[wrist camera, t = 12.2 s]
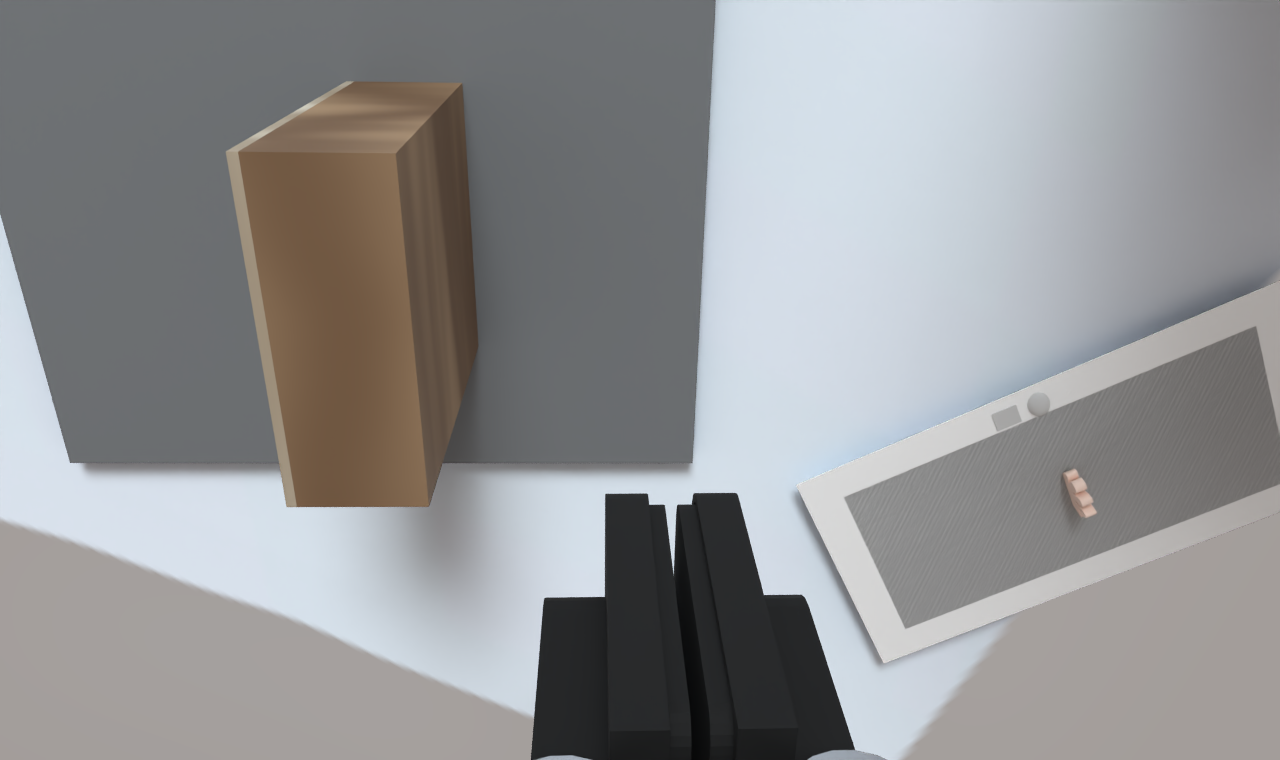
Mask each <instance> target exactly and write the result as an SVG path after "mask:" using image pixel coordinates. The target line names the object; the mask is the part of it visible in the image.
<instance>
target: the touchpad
mask: <svg viewBox="0 0 1280 760" xmlns="http://www.w3.org/2000/svg"><path fill="white" fill-rule="evenodd" d="M796 486H797V488H798V490H799V492H800V494H801V496H802V498H803V500H804V502H805V505H806V507H807V509H808V511H809V513H810V515H811V517H812V519H813V521H814V523H815V525H816V527H817V529H818V531H819V533H820V535H821V537H822V539H823V541H824V543H825V545H826V547H827V549H828V551H829V553H830V555H831V557H832V559H833V561H834V563H835V565H836V568H837V570H838V572H839V574H840V576H841V578H842V580H843V582H844V584H845V586H846V588H847V590H848V592H849V594H850V596H851V598H852V600H853V602H854V604H855V606H856V608H857V610H858V612H859V614H860V616H861V618H862V620H863V622H864V624H865V626H866V628H867V631H868V633H869V635H870V637H871V639H872V641H873V643H874V645H875V647H876V649H877V651H878V653H879V655H880V657H881V659H882V661H883V663H887V662H889V661H892V660H895V659H897V658H900V657H903V656H905V655H908V654H910V653H913V652H916V651H918V650H921V649H923V648H926V647H929V646H931V645H934V644H937V643H939V642H942V641H944V640H947V639H950V638H952V637H955V636H957V635H960V634H963V633H965V632H968V631H971V630H973V629H976V628H978V627H981V626H984V625H986V624H989V623H991V622H994V621H997V620H999V619H1002V618H1005V617H1007V616H1010V615H1012V614H1015V613H1018V612H1020V611H1023V610H1025V609H1028V608H1031V607H1033V606H1036V605H1039V604H1041V603H1044V602H1046V601H1049V600H1051V599H1054V598H1057V597H1060V596H1062V595H1065V594H1067V593H1070V592H1073V591H1075V590H1078V589H1080V588H1083V587H1086V586H1088V585H1091V584H1094V583H1096V582H1099V581H1101V580H1104V579H1107V578H1109V577H1112V576H1114V575H1117V574H1120V573H1122V572H1125V571H1128V570H1130V569H1133V568H1135V567H1138V566H1141V565H1143V564H1146V563H1148V562H1151V561H1153V560H1156V559H1159V558H1161V557H1164V556H1167V555H1169V554H1172V553H1175V552H1177V551H1180V550H1182V549H1184V548H1187V547H1190V546H1193V545H1195V544H1198V543H1201V542H1203V541H1206V540H1209V539H1211V538H1214V537H1216V536H1219V535H1222V534H1224V533H1227V532H1230V531H1232V530H1235V529H1237V528H1240V527H1242V526H1245V525H1248V524H1250V523H1253V522H1255V521H1258V520H1260V519H1263V518H1266V517H1269V516H1271V515H1274V514H1276V513H1279V512H1280V280H1279V281H1277V282H1275V283H1272V284H1270V285H1268V286H1265V287H1263V288H1260V289H1258V290H1256V291H1253V292H1251V293H1249V294H1246V295H1244V296H1242V297H1239V298H1237V299H1234V300H1232V301H1230V302H1227V303H1225V304H1223V305H1220V306H1218V307H1215V308H1213V309H1211V310H1208V311H1206V312H1204V313H1201V314H1199V315H1197V316H1194V317H1192V318H1189V319H1187V320H1185V321H1182V322H1180V323H1178V324H1175V325H1173V326H1171V327H1168V328H1166V329H1163V330H1161V331H1159V332H1156V333H1154V334H1152V335H1149V336H1147V337H1144V338H1142V339H1140V340H1137V341H1135V342H1133V343H1130V344H1128V345H1126V346H1123V347H1121V348H1118V349H1116V350H1114V351H1111V352H1109V353H1107V354H1104V355H1102V356H1100V357H1097V358H1095V359H1092V360H1090V361H1088V362H1085V363H1083V364H1081V365H1078V366H1076V367H1073V368H1071V369H1069V370H1066V371H1064V372H1062V373H1059V374H1057V375H1055V376H1052V377H1050V378H1047V379H1045V380H1043V381H1040V382H1038V383H1036V384H1033V385H1031V386H1029V387H1026V388H1024V389H1021V390H1019V391H1017V392H1014V393H1012V394H1010V395H1007V396H1005V397H1002V398H1000V399H998V400H995V401H993V402H991V403H988V404H986V405H984V406H981V407H979V408H976V409H974V410H972V411H969V412H967V413H965V414H962V415H960V416H958V417H955V418H953V419H950V420H948V421H946V422H943V423H941V424H939V425H936V426H934V427H931V428H929V429H927V430H924V431H922V432H920V433H917V434H915V435H913V436H910V437H908V438H905V439H903V440H901V441H898V442H896V443H894V444H891V445H889V446H887V447H884V448H882V449H879V450H877V451H875V452H872V453H870V454H868V455H865V456H863V457H860V458H858V459H856V460H853V461H851V462H849V463H846V464H844V465H842V466H839V467H837V468H834V469H832V470H830V471H827V472H825V473H823V474H820V475H818V476H816V477H813V478H811V479H808V480H806V481H804V482H801V483H799V484H797V485H796Z"/></svg>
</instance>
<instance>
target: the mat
mask: <svg viewBox="0 0 1280 760" xmlns="http://www.w3.org/2000/svg"><path fill="white" fill-rule="evenodd" d="M714 20H715V0H0V215H1V218H2V222H3V225H4V229H5V232H6V236H7V239H8V243H9V247H10V250H11V254H12V257H13V261H14V264H15V268H16V271H17V275H18V279H19V282H20V286H21V289H22V293H23V296H24V300H25V304H26V307H27V311H28V314H29V318H30V321H31V325H32V328H33V332H34V336H35V339H36V343H37V346H38V350H39V353H40V357H41V361H42V364H43V368H44V371H45V375H46V378H47V382H48V385H49V389H50V393H51V396H52V400H53V403H54V407H55V410H56V414H57V417H58V421H59V425H60V428H61V432H62V435H63V439H64V442H65V446H66V450H67V453H68V457H69V460H70V463H279V459H278V454H277V448H276V442H275V436H274V430H273V424H272V419H271V413H270V407H269V401H268V395H267V389H266V384H265V378H264V372H263V366H262V360H261V354H260V349H259V343H258V337H257V331H256V325H255V320H254V314H253V308H252V302H251V296H250V290H249V285H248V279H247V273H246V267H245V261H244V255H243V250H242V244H241V238H240V232H239V226H238V220H237V215H236V209H235V203H234V197H233V191H232V185H231V180H230V174H229V168H228V162H227V156H226V151H227V150H229V149H231V148H233V147H234V146H236V145H238V144H239V143H241V142H243V141H245V140H246V139H248V138H250V137H251V136H253V135H255V134H257V133H258V132H260V131H262V130H263V129H265V128H267V127H269V126H270V125H272V124H274V123H276V122H277V121H279V120H281V119H282V118H284V117H286V116H288V115H289V114H291V113H293V112H294V111H296V110H298V109H300V108H301V107H303V106H305V105H306V104H308V103H310V102H312V101H313V100H315V99H317V98H318V97H320V96H322V95H324V94H325V93H327V92H329V91H331V90H332V89H334V88H336V87H337V86H339V85H341V84H343V83H344V82H346V81H360V82H434V83H462V86H463V102H464V119H465V135H466V151H467V167H468V183H469V200H470V216H471V232H472V248H473V264H474V280H475V297H476V313H477V329H478V345H479V346H478V350H477V353H476V356H475V359H474V363H473V366H472V369H471V372H470V376H469V379H468V382H467V385H466V388H465V392H464V395H463V398H462V401H461V405H460V408H459V411H458V414H457V418H456V421H455V424H454V427H453V430H452V434H451V437H450V440H449V443H448V447H447V450H446V453H445V456H444V460H443V463H692V461H693V441H694V421H695V401H696V380H697V360H698V340H699V320H700V300H701V280H702V260H703V240H704V220H705V200H706V180H707V160H708V140H709V120H710V100H711V80H712V60H713V40H714Z"/></svg>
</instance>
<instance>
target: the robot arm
mask: <svg viewBox="0 0 1280 760" xmlns="http://www.w3.org/2000/svg"><path fill="white" fill-rule="evenodd" d="M531 760H887V759H885V758H882V757H880V756H878V755H874V754H870V753H865V752H861V751H857V750H855V748H854V745H853V742H852V739H851V736H850V733H849V730H848V726H847V723H846V720H845V717H844V714H843V711H842V708H841V705H840V702H839V699H838V696H837V692H836V689H835V686H834V683H833V680H832V677H831V674H830V671H829V668H828V665H827V662H826V658H825V655H824V652H823V649H822V646H821V643H820V640H819V637H818V634H817V631H816V628H815V624H814V621H813V618H812V615H811V612H810V609H809V606H808V604H807V601H806V599H805V597H803V596H802V595H764V594H763V590H762V586H761V582H760V579H759V575H758V571H757V567H756V563H755V559H754V555H753V552H752V548H751V544H750V540H749V536H748V532H747V528H746V525H745V521H744V517H743V513H742V509H741V505H740V502H739V498H738V495H737V494H736V493H694V495H693V500H692V505H677V513H676V535H675V560H674V576H673V567H672V559H671V551H670V543H669V535H668V527H667V519H666V511H665V505H649V500H648V494H605V597H568V598H545V599H544V605H543V616H542V628H541V640H540V653H539V665H538V678H537V690H536V703H535V715H534V728H533V741H532V753H531Z"/></svg>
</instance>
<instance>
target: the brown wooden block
mask: <svg viewBox="0 0 1280 760" xmlns="http://www.w3.org/2000/svg"><path fill="white" fill-rule="evenodd" d="M226 156H227V162H228V168H229V174H230V180H231V185H232V191H233V197H234V203H235V209H236V215H237V220H238V226H239V232H240V238H241V244H242V250H243V255H244V261H245V267H246V273H247V279H248V285H249V290H250V296H251V302H252V308H253V314H254V320H255V325H256V331H257V337H258V343H259V349H260V354H261V360H262V366H263V372H264V378H265V384H266V389H267V395H268V401H269V407H270V413H271V419H272V424H273V430H274V436H275V442H276V448H277V454H278V459H279V465H280V471H281V477H282V483H283V488H284V494H285V500H286V506H287V507H429V505H430V502H431V498H432V495H433V492H434V489H435V485H436V482H437V479H438V476H439V473H440V469H441V466H442V463H443V460H444V456H445V453H446V450H447V447H448V443H449V440H450V437H451V434H452V430H453V427H454V424H455V421H456V418H457V414H458V411H459V408H460V405H461V401H462V398H463V395H464V392H465V388H466V385H467V382H468V379H469V376H470V372H471V369H472V366H473V363H474V359H475V356H476V353H477V350H478V346H479V345H478V329H477V313H476V297H475V280H474V264H473V248H472V232H471V216H470V200H469V183H468V167H467V151H466V135H465V119H464V102H463V86H462V83H434V82H360V81H346V82H344V83H343V84H341V85H339V86H337V87H336V88H334V89H332V90H331V91H329V92H327V93H325V94H324V95H322V96H320V97H318V98H317V99H315V100H313V101H312V102H310V103H308V104H306V105H305V106H303V107H301V108H300V109H298V110H296V111H294V112H293V113H291V114H289V115H288V116H286V117H284V118H282V119H281V120H279V121H277V122H276V123H274V124H272V125H270V126H269V127H267V128H265V129H263V130H262V131H260V132H258V133H257V134H255V135H253V136H251V137H250V138H248V139H246V140H245V141H243V142H241V143H239V144H238V145H236V146H234V147H233V148H231V149H229V150H227V151H226Z"/></svg>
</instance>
